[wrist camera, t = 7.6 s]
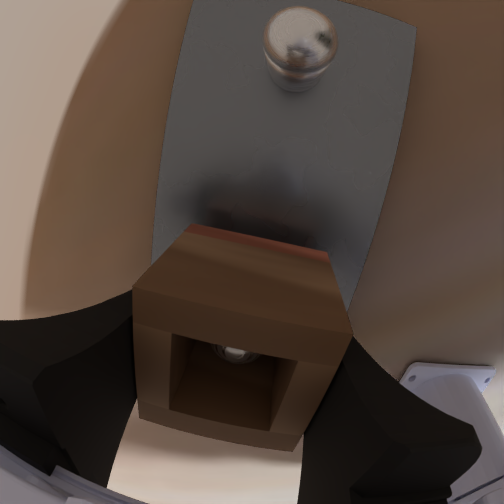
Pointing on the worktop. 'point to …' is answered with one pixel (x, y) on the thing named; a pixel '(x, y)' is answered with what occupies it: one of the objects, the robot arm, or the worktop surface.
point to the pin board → (284, 128)
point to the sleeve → (237, 337)
